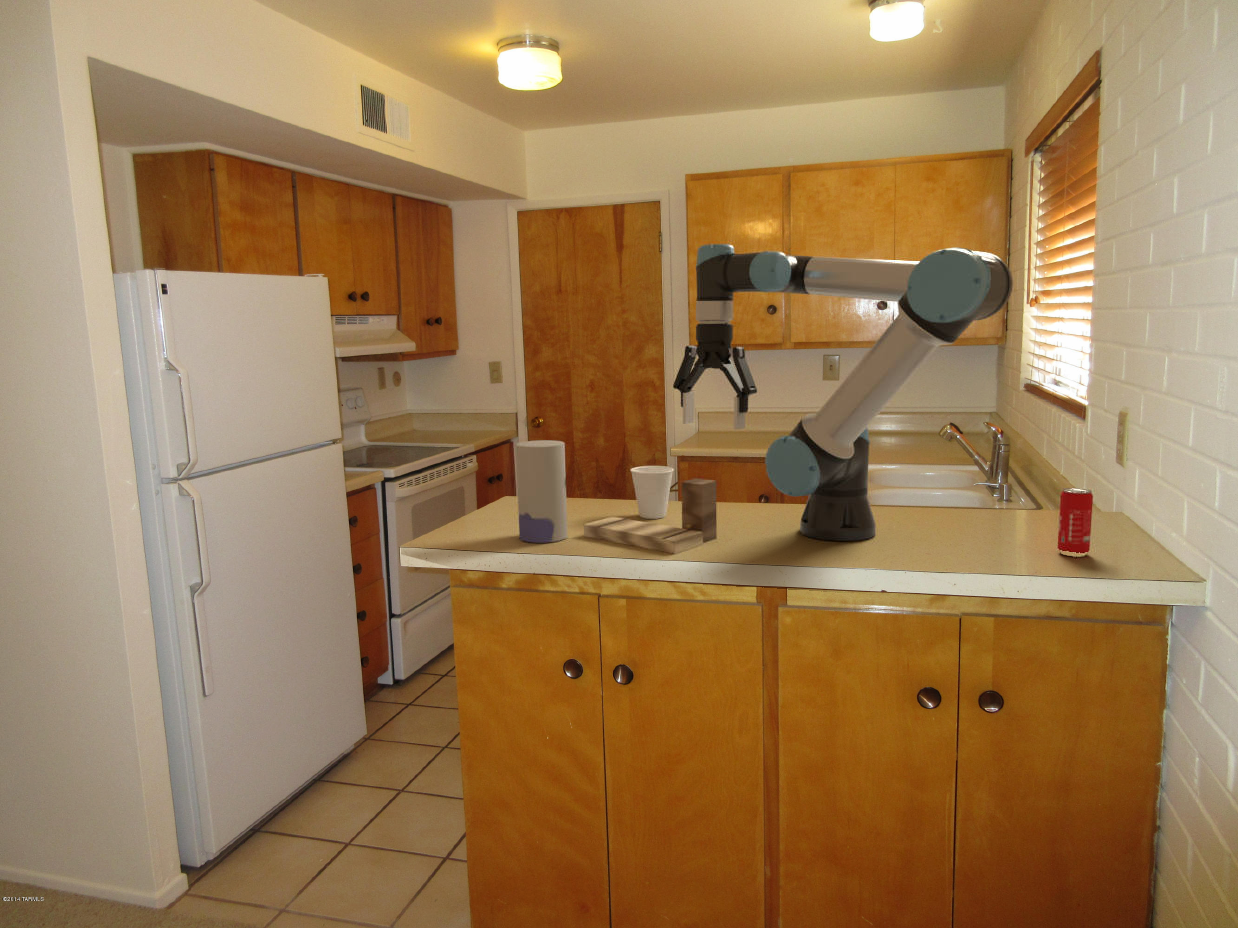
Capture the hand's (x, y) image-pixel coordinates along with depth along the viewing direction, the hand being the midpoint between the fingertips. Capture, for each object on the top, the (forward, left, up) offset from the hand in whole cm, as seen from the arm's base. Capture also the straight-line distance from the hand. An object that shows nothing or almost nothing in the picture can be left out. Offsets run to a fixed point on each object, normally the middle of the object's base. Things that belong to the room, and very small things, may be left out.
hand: (713, 425), depth 178 cm
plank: (+7, +16, -22) cm, 28 cm away
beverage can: (-64, -23, -23) cm, 72 cm away
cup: (+19, -3, -23) cm, 30 cm away
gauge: (-2, +8, -22) cm, 24 cm away
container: (+25, +26, -23) cm, 43 cm away
